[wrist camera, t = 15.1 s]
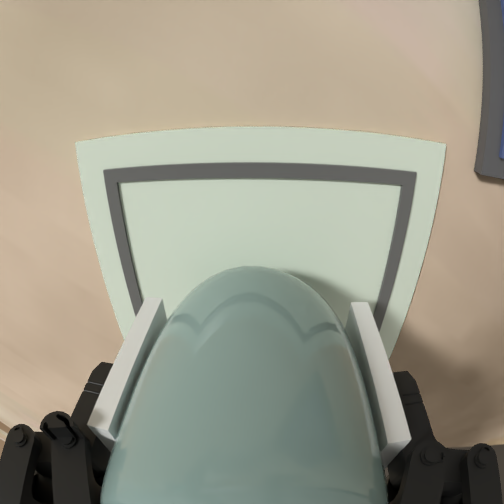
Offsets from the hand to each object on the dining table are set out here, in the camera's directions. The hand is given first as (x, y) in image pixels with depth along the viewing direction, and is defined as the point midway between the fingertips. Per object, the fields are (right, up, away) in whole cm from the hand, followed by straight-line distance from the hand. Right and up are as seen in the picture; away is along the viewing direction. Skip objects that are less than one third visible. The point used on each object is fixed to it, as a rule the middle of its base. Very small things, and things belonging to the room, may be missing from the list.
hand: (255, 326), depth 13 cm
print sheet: (0, +1, +2) cm, 2 cm away
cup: (0, 0, +1) cm, 1 cm away
